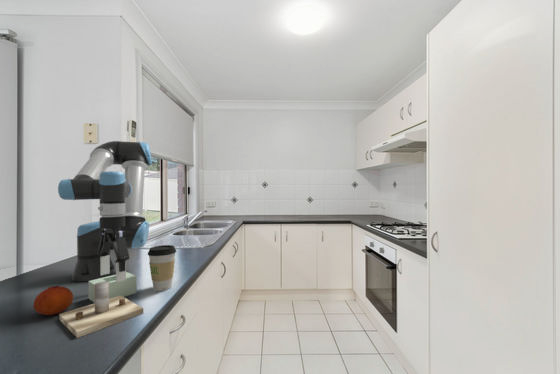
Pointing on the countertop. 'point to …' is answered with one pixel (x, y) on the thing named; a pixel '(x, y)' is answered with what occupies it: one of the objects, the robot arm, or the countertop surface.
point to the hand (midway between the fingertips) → (112, 277)
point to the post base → (99, 318)
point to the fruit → (53, 300)
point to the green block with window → (115, 286)
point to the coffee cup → (162, 266)
